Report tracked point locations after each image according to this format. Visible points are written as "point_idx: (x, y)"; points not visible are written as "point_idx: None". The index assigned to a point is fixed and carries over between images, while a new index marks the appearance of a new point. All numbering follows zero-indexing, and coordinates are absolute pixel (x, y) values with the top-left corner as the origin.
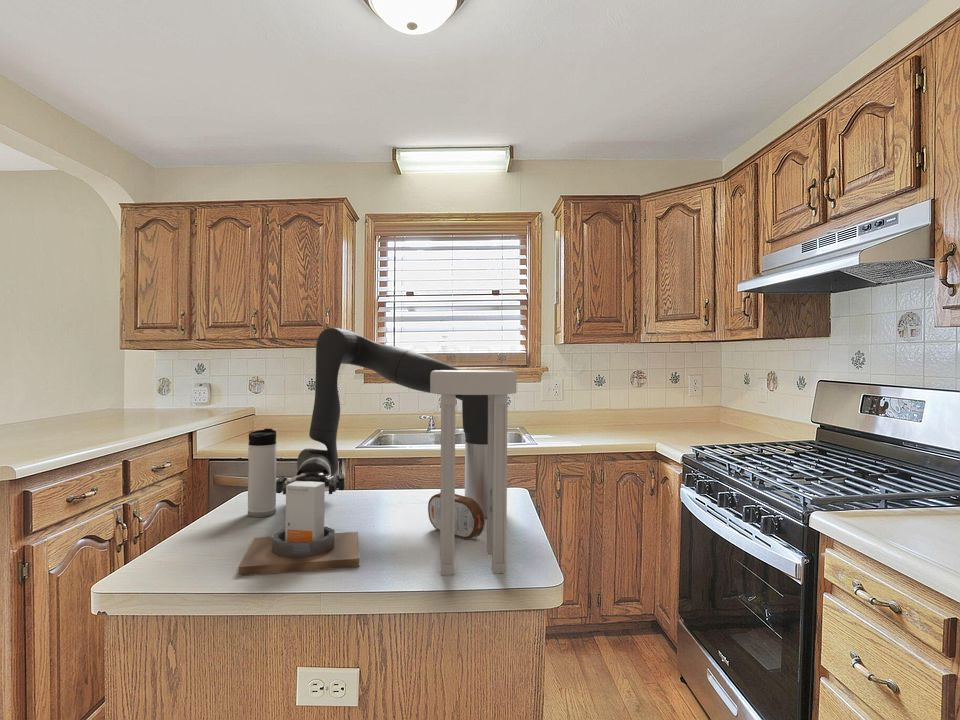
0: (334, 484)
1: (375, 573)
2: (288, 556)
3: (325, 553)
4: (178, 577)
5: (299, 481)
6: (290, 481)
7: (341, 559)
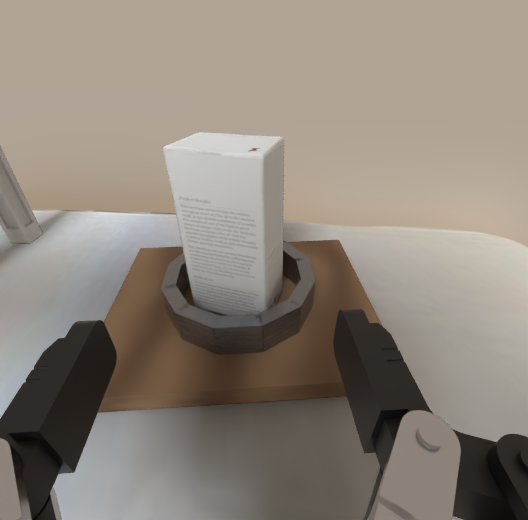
0: (46, 360)
1: (128, 243)
2: None
3: None
4: (433, 256)
5: (249, 151)
6: (398, 432)
7: (171, 248)
